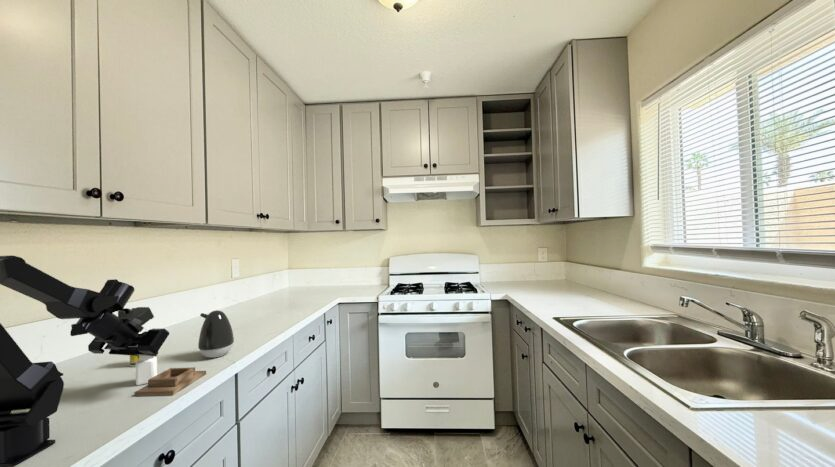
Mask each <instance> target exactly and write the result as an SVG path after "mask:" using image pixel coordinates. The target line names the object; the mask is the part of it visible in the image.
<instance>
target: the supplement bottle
mask: <svg viewBox="0 0 835 467" xmlns="http://www.w3.org/2000/svg"><path fill="white" fill-rule="evenodd" d="M138 360H139V356H132V355H129V366H130V367H133V368H136V362H137V361H138Z"/></svg>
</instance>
